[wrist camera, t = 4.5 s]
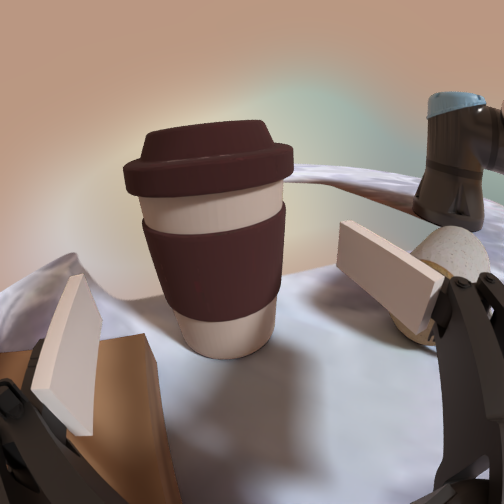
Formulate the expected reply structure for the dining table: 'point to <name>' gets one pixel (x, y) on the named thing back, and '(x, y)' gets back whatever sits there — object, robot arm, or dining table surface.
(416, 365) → the dining table surface
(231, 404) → the dining table surface
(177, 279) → the coffee cup
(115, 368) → the walnut slab
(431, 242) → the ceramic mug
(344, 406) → the dining table surface
